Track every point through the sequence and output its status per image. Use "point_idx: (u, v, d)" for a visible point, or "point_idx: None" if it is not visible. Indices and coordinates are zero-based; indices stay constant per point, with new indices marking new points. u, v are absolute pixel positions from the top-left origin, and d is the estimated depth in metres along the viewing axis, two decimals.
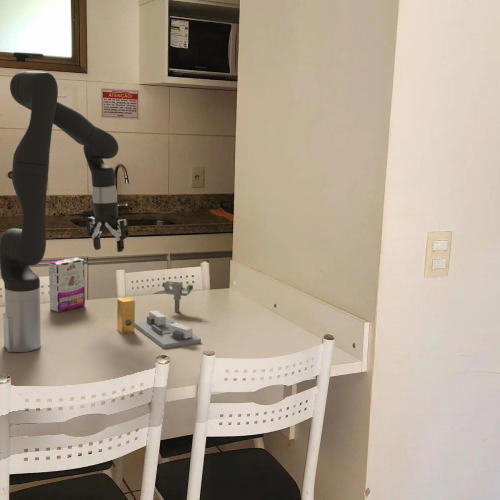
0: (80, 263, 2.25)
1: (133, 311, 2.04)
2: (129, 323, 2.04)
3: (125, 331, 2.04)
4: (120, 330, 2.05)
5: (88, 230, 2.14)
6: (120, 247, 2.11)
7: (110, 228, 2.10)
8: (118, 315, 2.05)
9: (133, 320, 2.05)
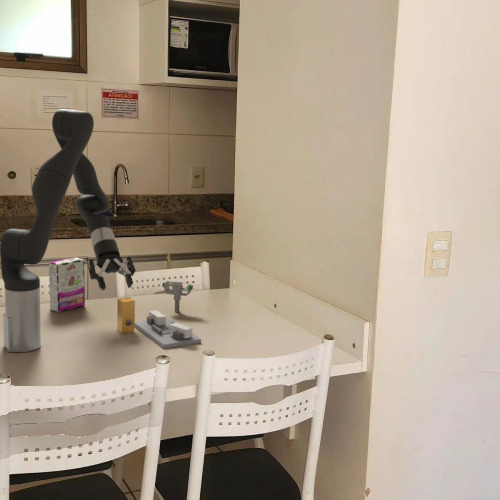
0: (80, 263, 2.25)
1: (133, 311, 2.04)
2: (129, 323, 2.04)
3: (125, 331, 2.04)
4: (120, 330, 2.05)
5: (93, 270, 2.09)
6: (131, 280, 2.13)
7: (119, 263, 2.14)
8: (118, 315, 2.05)
9: (133, 320, 2.05)
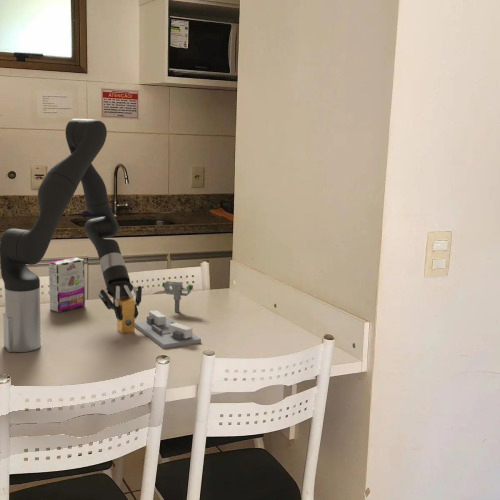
0: (80, 263, 2.25)
1: (133, 311, 2.04)
2: (129, 323, 2.04)
3: (125, 331, 2.04)
4: (120, 330, 2.05)
5: (108, 300, 2.03)
6: (136, 311, 2.06)
7: (128, 291, 2.07)
8: None
9: (133, 320, 2.05)
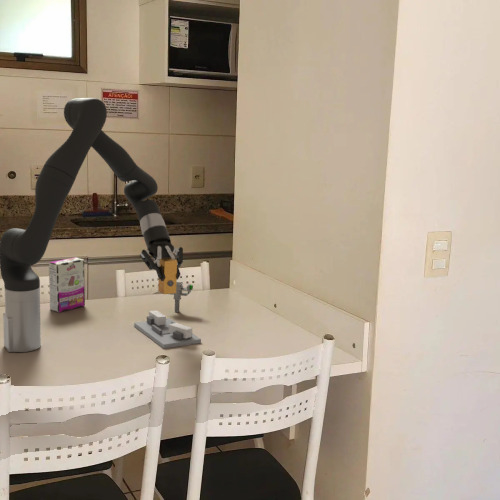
0: (80, 263, 2.25)
1: (175, 271, 2.01)
2: (171, 284, 2.00)
3: (167, 292, 2.00)
4: (162, 291, 2.01)
5: (150, 260, 1.99)
6: (178, 272, 2.02)
7: (170, 252, 2.03)
8: None
9: (175, 281, 2.01)
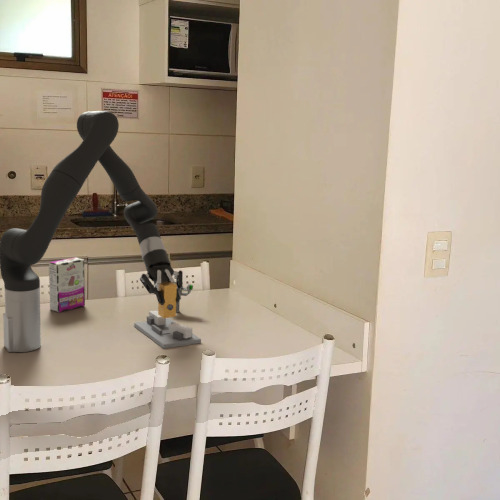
0: (80, 263, 2.25)
1: (175, 295, 2.02)
2: (171, 307, 2.02)
3: (167, 315, 2.02)
4: (162, 314, 2.02)
5: (150, 284, 2.01)
6: (178, 296, 2.03)
7: (169, 275, 2.05)
8: None
9: (175, 304, 2.03)
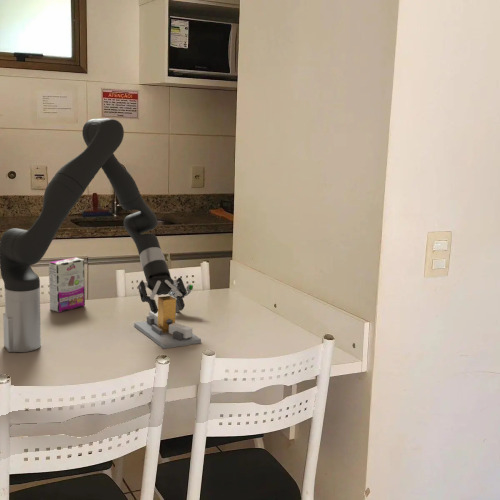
0: (80, 263, 2.25)
1: (174, 310, 2.03)
2: (170, 322, 2.03)
3: (166, 330, 2.03)
4: (161, 329, 2.03)
5: (144, 292, 2.01)
6: (183, 303, 2.05)
7: (170, 285, 2.06)
8: (159, 314, 2.04)
9: (174, 319, 2.03)
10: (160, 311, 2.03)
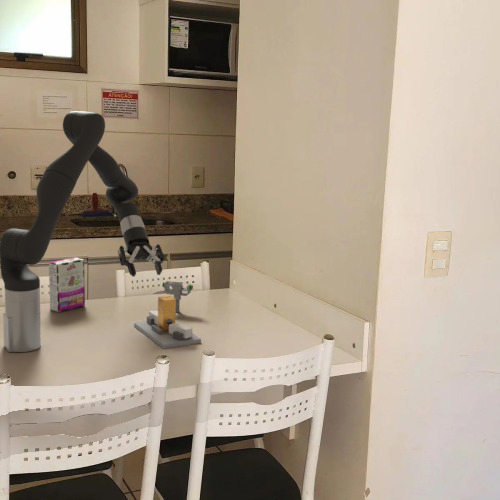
0: (80, 263, 2.25)
1: (174, 310, 2.03)
2: (170, 322, 2.03)
3: (166, 330, 2.03)
4: (161, 329, 2.03)
5: (123, 256, 2.10)
6: (160, 268, 2.14)
7: (149, 250, 2.15)
8: (159, 314, 2.04)
9: (174, 319, 2.03)
10: (160, 311, 2.03)
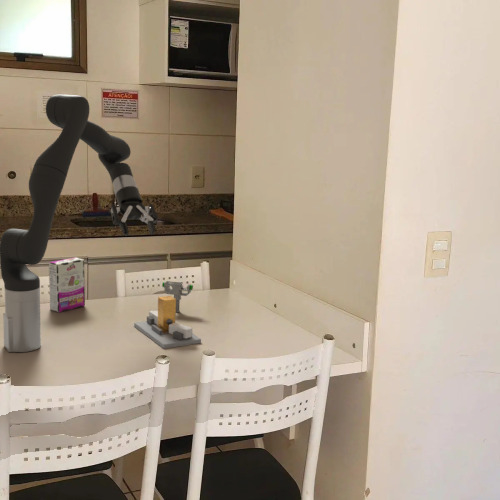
0: (80, 263, 2.25)
1: (174, 310, 2.03)
2: (170, 322, 2.03)
3: (166, 330, 2.03)
4: (161, 329, 2.03)
5: (116, 215, 2.09)
6: (154, 227, 2.13)
7: (142, 210, 2.13)
8: (159, 314, 2.04)
9: (174, 319, 2.03)
10: (160, 311, 2.03)
